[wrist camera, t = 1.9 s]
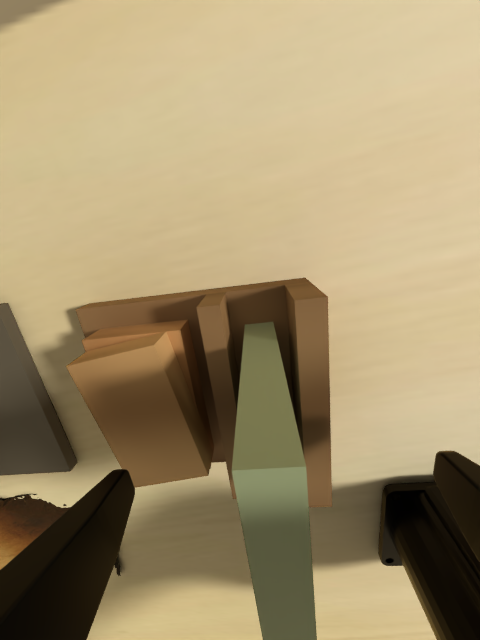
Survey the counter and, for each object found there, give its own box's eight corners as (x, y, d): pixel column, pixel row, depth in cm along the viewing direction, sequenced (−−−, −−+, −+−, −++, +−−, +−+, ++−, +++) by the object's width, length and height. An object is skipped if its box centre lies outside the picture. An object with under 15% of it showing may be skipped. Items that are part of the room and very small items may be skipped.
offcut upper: (212, 450, 11) (208, 475, 10) (144, 462, 12) (132, 487, 11) (166, 331, 10) (154, 344, 8) (87, 350, 10) (65, 366, 9)
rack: (313, 441, 14) (331, 506, 10) (138, 451, 15) (105, 515, 11) (305, 277, 11) (327, 296, 8) (89, 303, 12) (26, 330, 9)
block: (283, 434, 12) (317, 660, 6) (259, 436, 13) (266, 659, 6) (273, 321, 11) (306, 466, 4) (244, 324, 11) (231, 470, 4)
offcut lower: (214, 447, 13) (210, 468, 12) (140, 452, 13) (129, 472, 12) (187, 319, 11) (179, 330, 10) (99, 329, 11) (81, 340, 10)
